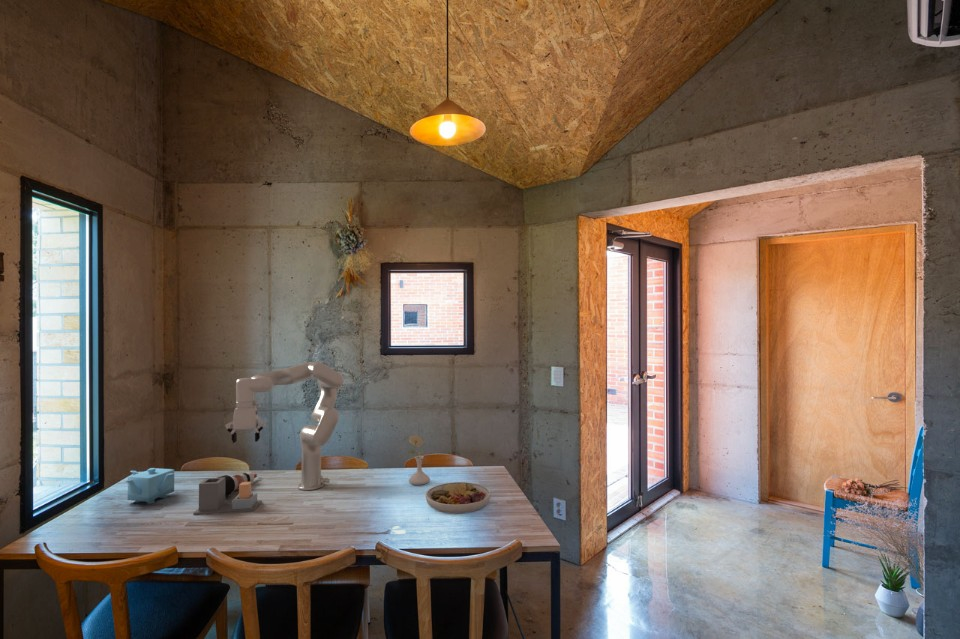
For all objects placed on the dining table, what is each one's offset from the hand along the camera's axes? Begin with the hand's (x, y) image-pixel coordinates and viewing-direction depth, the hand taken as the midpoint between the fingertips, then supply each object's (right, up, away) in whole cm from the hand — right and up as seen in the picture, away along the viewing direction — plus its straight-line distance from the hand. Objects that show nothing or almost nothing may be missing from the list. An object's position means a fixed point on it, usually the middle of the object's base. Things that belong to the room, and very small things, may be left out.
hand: (245, 441), depth 212 cm
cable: (-15, -30, +19) cm, 39 cm away
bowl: (+99, -29, +1) cm, 103 cm away
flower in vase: (+76, -30, +29) cm, 87 cm away
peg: (+1, -28, -3) cm, 29 cm away
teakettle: (-50, -30, +7) cm, 59 cm away
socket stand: (-6, -29, -4) cm, 30 cm away
